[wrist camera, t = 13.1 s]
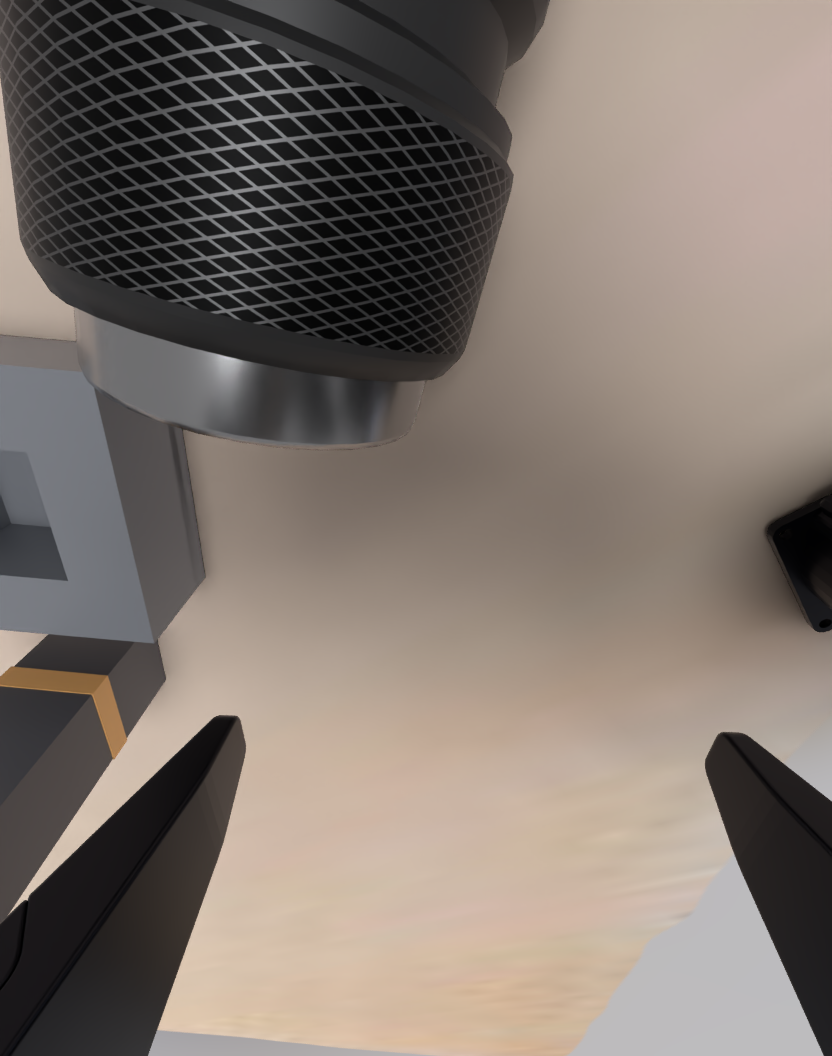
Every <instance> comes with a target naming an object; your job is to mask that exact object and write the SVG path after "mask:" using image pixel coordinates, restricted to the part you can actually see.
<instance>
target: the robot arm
mask: <svg viewBox="0 0 832 1056" xmlns="http://www.w3.org/2000/svg"><path fill="white" fill-rule="evenodd" d="M784 530H786V531H785V533H783V534H782V535H780V533H781V532H782V531H784ZM767 537H768V539H769V541H770V544H771V546H772V548H773V550H774V552H775V554H776V556H777V559H778V561H779V563H780V565H781V567H782V569H783V572H784V574H785V576H786V578H787V580H788V582H789V584H790V587H791V589H792V591H793V593H794V595H795V597H796V600H797V602H798V604H799V606H800V608H801V610H802V612H803V615H804V617H805V619H806V621H807V623H808V624H809V625H810V626H811V627H812V628H813V629H814V630H815V631H817V632H826V631H829V630H832V494H830V495H828V496H826V497H824V498H822V499H820V500H818V501H816V502H814V503H812V504H810V505H808V506H806V507H804V508H802V509H800V510H798V511H796V512H794V513H792V514H790V515H788V516H786V517H784V518H782V519H780V520H778V521H776V522H774V523H773V524H771V525H770V527H769V528H768V530H767ZM245 752H246V743H245V739H244V734H243V730H242V725H241V721H240V719H239V717H238V716H230V715H219V716H216V717H214V718H213V719H212V720H211V721H210V722H209V723H208V724H207V725H206V726H205V727H203V728H202V729H201V730H200V731H199V732H198V733H197V734H196V735H195V736H194V737H193V738H192V739H191V740H190V741H189V742H188V743H187V744H186V745H185V746H184V747H183V748H182V749H181V750H180V751H179V752H178V753H177V754H175V755H174V756H173V757H172V758H171V759H170V760H169V761H168V762H167V763H166V764H165V765H164V766H163V767H162V768H161V769H160V770H159V771H158V772H157V773H156V774H155V775H154V776H153V777H152V778H151V779H150V780H148V781H147V782H146V783H145V784H144V785H143V786H142V787H141V788H140V789H139V790H138V791H137V792H136V793H135V794H134V795H133V796H132V797H131V798H130V799H129V800H128V801H127V802H126V803H125V804H124V805H123V806H122V807H120V808H119V809H118V810H117V811H116V812H115V813H114V814H113V815H112V816H111V817H110V818H109V819H108V820H107V821H106V822H105V823H104V824H103V825H102V826H101V827H100V828H99V829H98V830H97V831H96V832H95V833H94V834H92V835H91V836H90V837H89V838H88V839H87V840H86V841H85V842H84V843H83V844H82V845H81V846H80V847H79V848H78V849H77V850H76V851H75V852H74V853H73V854H72V855H71V856H70V857H69V858H68V859H67V860H65V861H64V862H63V863H62V864H61V865H60V866H59V867H58V868H57V869H56V870H55V871H54V872H53V873H52V874H51V875H50V876H49V877H48V878H47V879H46V880H45V881H44V882H43V883H42V884H41V885H40V886H39V887H37V888H36V889H35V890H34V891H33V892H32V893H31V894H30V895H29V898H28V901H27V900H25V901H23V902H22V903H21V904H20V905H19V906H18V907H16V908H15V909H14V910H13V911H12V912H11V913H10V914H9V915H8V916H7V917H6V918H5V919H4V920H3V921H2V922H1V923H0V1056H148V1054H149V1051H150V1048H151V1045H152V1042H153V1039H154V1037H155V1034H156V1031H157V1028H158V1026H159V1023H160V1020H161V1017H162V1014H163V1012H164V1009H165V1006H166V1003H167V1000H168V998H169V995H170V992H171V989H172V986H173V983H174V981H175V978H176V975H177V972H178V969H179V967H180V964H181V961H182V958H183V955H184V953H185V950H186V947H187V944H188V941H189V939H190V936H191V933H192V930H193V927H194V925H195V922H196V919H197V916H198V913H199V910H200V908H201V905H202V902H203V899H204V896H205V894H206V891H207V888H208V885H209V882H210V880H211V877H212V874H213V871H214V868H215V866H216V863H217V860H218V857H219V854H220V851H221V848H222V845H223V842H224V838H225V834H226V830H227V827H228V823H229V819H230V815H231V810H232V806H233V802H234V798H235V794H236V790H237V786H238V782H239V778H240V774H241V770H242V766H243V762H244V758H245ZM705 769H706V774H707V777H708V780H709V783H710V785H711V788H712V791H713V794H714V797H715V800H716V803H717V806H718V809H719V812H720V815H721V817H722V820H723V823H724V826H725V829H726V832H727V835H728V838H729V841H730V844H731V847H732V849H733V852H734V855H735V857H736V860H737V862H738V865H739V867H740V869H741V872H742V874H743V876H744V879H745V881H746V883H747V885H748V888H749V890H750V892H751V894H752V896H753V899H754V901H755V903H756V905H757V908H758V910H759V912H760V914H761V917H762V919H763V921H764V923H765V925H766V927H767V930H768V932H769V934H770V937H771V939H772V941H773V943H774V946H775V948H776V950H777V952H778V954H779V957H780V959H781V961H782V963H783V966H784V968H785V970H786V972H787V975H788V977H789V979H790V981H791V984H792V986H793V988H794V990H795V992H796V994H797V997H798V999H799V1001H800V1004H801V1006H802V1008H803V1010H804V1013H805V1015H806V1017H807V1019H808V1021H809V1024H810V1026H811V1028H812V1030H813V1033H814V1035H815V1037H816V1039H817V1042H818V1044H819V1046H820V1048H821V1050H822V1053H823V1055H824V1056H832V801H830V800H829V799H828V798H827V797H825V796H824V795H823V794H822V793H820V792H819V791H818V790H816V789H815V788H814V787H813V786H811V785H810V784H809V783H807V782H806V781H805V780H804V779H802V778H801V777H800V776H799V775H797V774H796V773H795V772H794V771H792V770H791V769H789V768H788V767H787V766H786V765H785V764H783V763H782V762H781V761H780V760H778V759H777V758H776V757H774V756H773V755H772V754H771V753H769V752H768V751H767V750H766V749H764V748H763V747H762V746H760V745H759V744H758V743H757V742H755V741H754V740H753V739H751V738H750V737H749V736H747V735H745V734H743V733H737V732H721V733H720V734H718V735H717V737H716V739H715V741H714V743H713V745H712V747H711V749H710V751H709V753H708V755H707V757H706V760H705Z"/></svg>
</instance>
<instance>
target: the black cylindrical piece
mask: <svg viewBox="0 0 832 1056" xmlns="http://www.w3.org/2000/svg"><path fill="white" fill-rule="evenodd" d="M549 2H550V0H0V78H1V86H2V94H3V102H4V111H5V119H6V127H7V135H8V144H9V152H10V160H11V168H12V176H13V185H14V193H15V201H16V209H17V218H18V226H19V234H20V240H21V242H22V245H23V247H24V249H25V252H26V254H27V256H28V258H29V260H30V262H31V263H32V265H33V266H34V268H35V269H36V271H37V272H38V273H39V275H40V276H41V278H42V279H43V281H44V282H45V284H46V285H47V287H48V288H49V290H50V291H51V292H52V293H53V294H55V295H56V296H57V297H59V298H60V299H61V300H62V301H64V302H65V303H67V304H69V305H71V306H73V307H74V317H75V329H76V342H77V354H78V363H79V366H80V368H81V370H82V372H83V374H84V376H85V378H86V380H87V381H88V383H90V384H91V385H92V386H93V387H94V388H95V389H96V390H98V391H99V392H100V393H101V394H102V395H103V396H105V397H107V398H109V399H111V400H112V401H114V402H116V403H118V404H119V405H121V406H123V407H125V408H127V409H129V410H131V411H134V412H136V413H138V414H141V415H143V416H146V417H148V418H151V419H153V420H156V421H158V422H161V423H164V424H168V425H171V426H175V427H178V428H181V429H185V430H188V431H191V432H195V433H198V434H203V435H207V436H212V437H217V438H222V439H226V440H231V441H236V442H242V443H249V444H256V445H263V446H270V447H278V448H293V449H308V450H352V449H360V448H368V447H376V446H380V445H384V444H387V443H391V442H394V441H397V440H398V439H400V438H401V437H403V436H405V435H406V434H407V433H408V432H409V431H410V429H411V428H412V426H413V424H414V422H415V420H416V416H417V412H418V408H419V404H420V401H421V397H422V393H423V389H424V385H425V381H426V380H432V379H435V378H437V377H440V376H442V375H443V374H444V373H445V372H446V371H447V370H448V369H449V368H450V367H451V366H452V365H453V364H454V363H456V362H457V361H458V360H459V359H460V357H461V355H462V354H463V352H464V350H465V348H466V345H467V341H468V338H469V334H470V331H471V327H472V324H473V320H474V317H475V313H476V310H477V307H478V303H479V300H480V296H481V293H482V289H483V286H484V282H485V279H486V275H487V272H488V268H489V265H490V261H491V258H492V255H493V251H494V248H495V244H496V241H497V237H498V234H499V230H500V227H501V223H502V220H503V216H504V213H505V210H506V206H507V203H508V199H509V196H510V192H511V188H512V183H513V173H512V171H511V169H510V167H509V165H508V164H507V159H508V155H509V151H510V146H511V140H512V134H511V132H510V130H509V127H508V125H507V123H506V120H505V119H504V117H503V116H502V115H501V114H500V113H499V112H498V110H497V109H496V108H495V106H496V102H497V98H498V94H499V90H500V86H501V82H502V78H503V74H504V70H505V69H507V68H508V67H509V66H511V65H512V64H514V63H515V62H516V61H518V60H519V59H521V58H522V57H523V55H524V54H525V52H526V51H527V49H528V48H529V46H530V44H531V43H532V41H533V40H534V38H535V37H536V35H537V33H538V32H539V30H540V29H541V27H542V26H543V23H544V20H545V16H546V13H547V9H548V5H549Z"/></svg>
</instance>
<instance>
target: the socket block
mask: <svg viewBox="0 0 832 1056" xmlns="http://www.w3.org/2000/svg"><path fill="white" fill-rule="evenodd" d="M204 578H205V573H204V566H203V560H202V553H201V547H200V541H199V534H198V528H197V522H196V515H195V509H194V502H193V496H192V490H191V483H190V477H189V471H188V464H187V458H186V452H185V445H184V439H183V432H182V429H181V428H178V427H175V426H171V425H168V424H164V423H161V422H158V421H156V420H153V419H151V418H148V417H146V416H143V415H141V414H138V413H136V412H134V411H131V410H129V409H127V408H125V407H123V406H121V405H119V404H118V403H116V402H114V401H112V400H111V399H109V398H107V397H105V396H103V395H102V394H101V393H100V392H99V391H98V390H96V389H95V388H94V387H93V386H92V385H91V384H90V383H88V381H87V380H86V378H85V376H84V374H83V372H82V370H81V368H80V366H79V363H78V354H77V342H74V341H63V340H51V339H40V338H29V337H18V336H7V335H0V630H8V631H20V632H31V633H42V634H53V635H65V636H76V637H87V638H98V639H110V640H121V641H132V642H143V643H155V642H156V641H157V639H158V638H159V637H160V635H161V634H162V633H163V632H164V630H165V629H166V628H167V626H168V625H169V624H170V622H171V621H172V620H173V619H174V617H175V616H176V615H177V613H178V612H179V611H180V609H181V608H182V607H183V605H184V604H185V603H186V602H187V600H188V599H189V598H190V596H191V595H192V594H193V592H194V591H195V590H196V589H197V587H198V586H199V585H200V583H201V582H202V581H203V579H204Z"/></svg>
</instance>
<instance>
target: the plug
mask: <svg viewBox="0 0 832 1056" xmlns="http://www.w3.org/2000/svg"><path fill="white" fill-rule="evenodd" d="M165 680H166V677H165V673H164V668H163V664H162V659H161V655H160V650H159V646H158V641H156V642H155V643H143V642H132V641H121V640H110V639H98V638H87V637H76V636H65V635H53V634H49V635H47V636H46V637H45V638H44V639H43V640H42V641H41V642H40V643H39V644H38V645H37V646H36V647H35V648H33V649H32V650H31V651H30V652H29V653H28V654H27V655H26V656H25V657H24V658H23V659H22V660H20V661H19V662H18V663H17V664H16V665H15V666H14V667H10V668H9V669H8V670H7V671H6V672H5V673H4V674H3V675H2V676H1V677H0V923H1V922H2V921H3V920H4V919H5V918H6V917H7V916H8V914H9V913H10V911H11V910H12V908H13V907H14V905H15V904H16V902H17V901H18V899H19V898H20V896H21V895H22V893H23V892H24V890H25V889H26V887H27V886H28V884H29V883H30V882H31V880H32V879H33V877H34V876H35V874H36V873H37V871H38V870H39V868H40V867H41V865H42V864H43V862H44V861H45V859H46V858H47V856H48V855H49V853H50V852H51V850H52V849H53V847H54V846H55V844H56V843H57V841H58V840H59V838H60V837H61V835H62V834H63V832H64V831H65V829H66V828H67V826H68V825H69V823H70V822H71V820H72V819H73V817H74V816H75V814H76V813H77V811H78V810H79V808H80V807H81V805H82V804H83V802H84V801H85V799H86V798H87V796H88V795H89V794H90V792H91V791H92V789H93V788H94V786H95V785H96V783H97V782H98V780H99V779H100V777H101V776H102V774H103V773H104V771H105V770H106V768H107V767H108V765H109V764H110V762H111V761H112V759H115V758H116V756H117V755H118V753H119V752H120V750H121V749H122V747H123V746H124V744H125V743H126V741H127V737H128V735H129V734H130V732H131V731H132V729H133V728H134V726H135V725H136V723H137V722H138V720H139V719H140V717H141V716H142V714H143V713H144V711H145V710H146V709H147V707H148V706H149V704H150V703H151V701H152V700H153V698H154V697H155V695H156V694H157V692H158V691H159V689H160V688H161V686H162V685H163V683H164V682H165Z"/></svg>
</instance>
